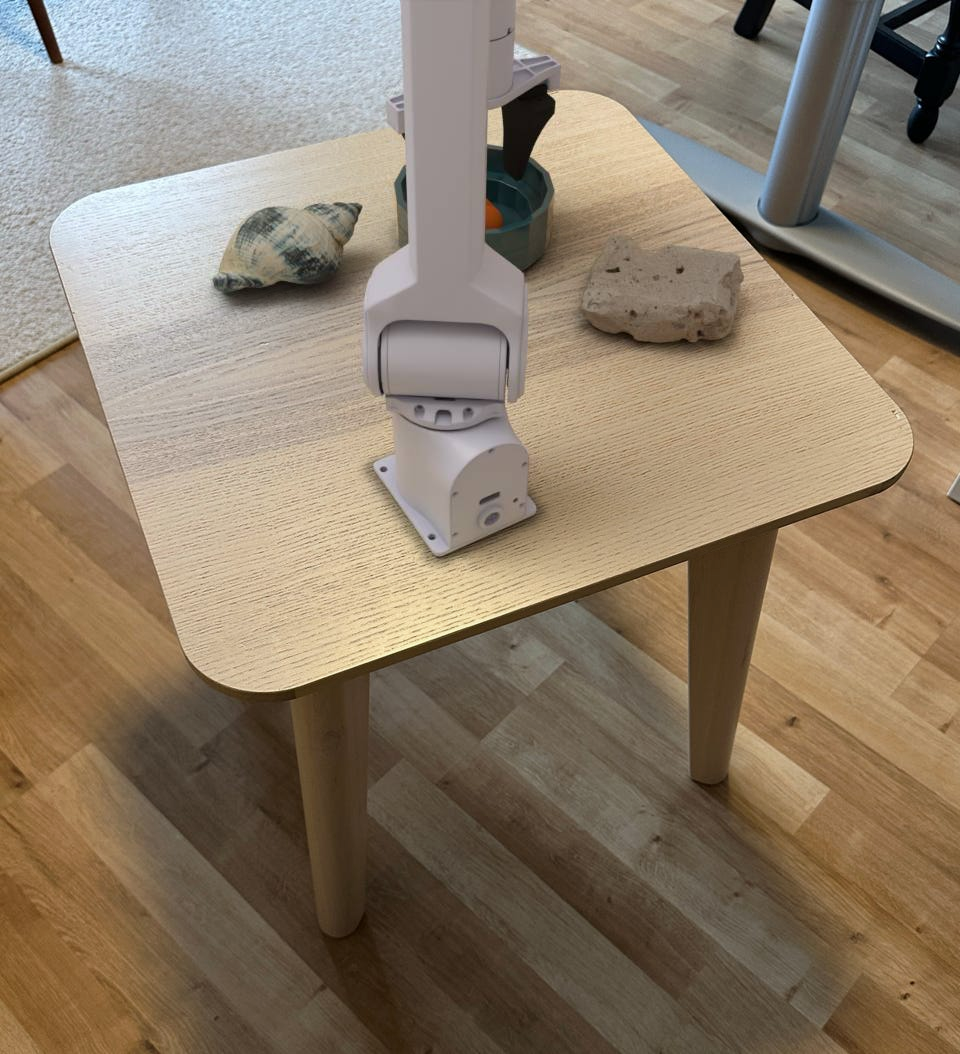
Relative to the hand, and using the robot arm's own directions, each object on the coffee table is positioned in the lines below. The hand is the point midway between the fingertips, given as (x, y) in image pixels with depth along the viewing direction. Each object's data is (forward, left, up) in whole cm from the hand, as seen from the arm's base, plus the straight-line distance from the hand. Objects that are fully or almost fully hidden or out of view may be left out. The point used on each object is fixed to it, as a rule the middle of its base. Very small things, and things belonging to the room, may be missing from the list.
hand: (474, 187), depth 90 cm
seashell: (+3, +16, -5) cm, 17 cm away
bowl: (0, 0, -5) cm, 5 cm away
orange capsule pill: (0, 0, -4) cm, 4 cm away
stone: (-16, -8, -5) cm, 19 cm away
